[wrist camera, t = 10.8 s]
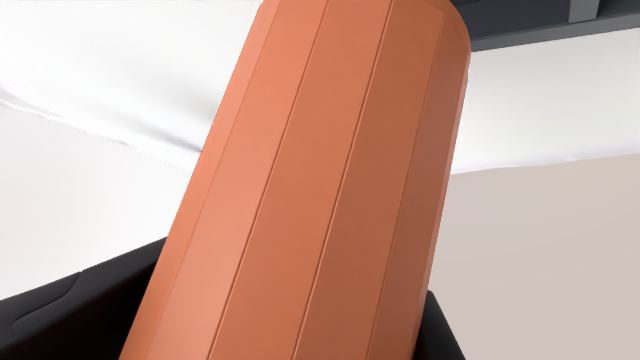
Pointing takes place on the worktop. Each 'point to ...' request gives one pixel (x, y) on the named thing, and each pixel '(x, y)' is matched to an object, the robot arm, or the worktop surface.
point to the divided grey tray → (542, 20)
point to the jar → (315, 190)
